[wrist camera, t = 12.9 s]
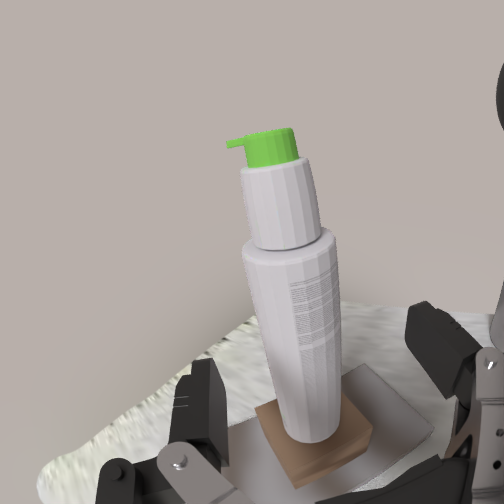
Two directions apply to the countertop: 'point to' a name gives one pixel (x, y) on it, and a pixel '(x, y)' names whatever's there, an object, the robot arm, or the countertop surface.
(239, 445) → the pedestal stand
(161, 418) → the countertop surface
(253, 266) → the bottle
